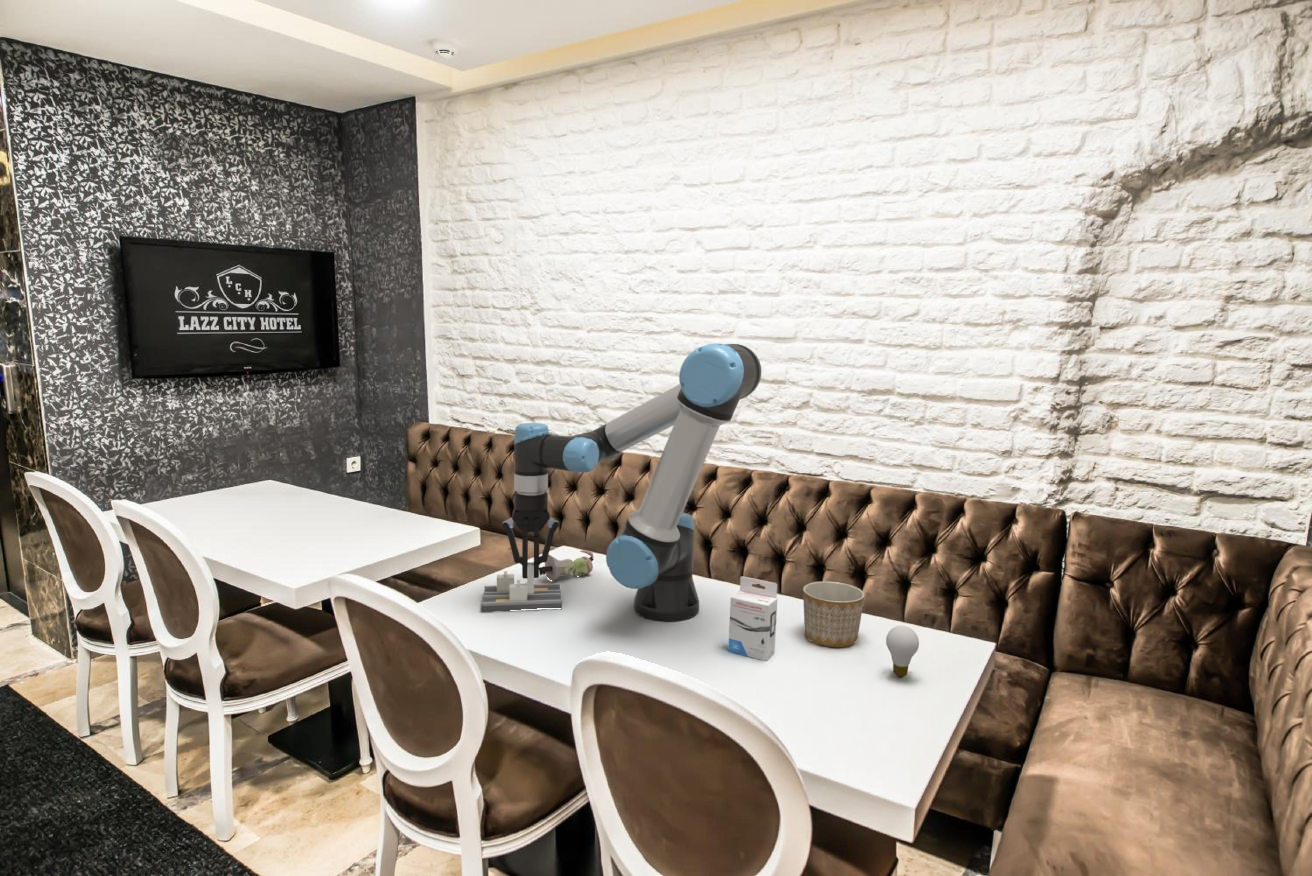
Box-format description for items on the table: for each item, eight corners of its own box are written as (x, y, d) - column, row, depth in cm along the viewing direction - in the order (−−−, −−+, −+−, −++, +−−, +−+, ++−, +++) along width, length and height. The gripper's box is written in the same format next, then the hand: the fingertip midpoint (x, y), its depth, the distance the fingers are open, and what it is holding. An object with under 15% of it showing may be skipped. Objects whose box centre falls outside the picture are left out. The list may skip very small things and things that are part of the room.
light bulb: (890, 667, 147) (894, 618, 145) (920, 676, 143) (924, 626, 142) (878, 677, 142) (882, 627, 141) (909, 687, 138) (913, 635, 137)
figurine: (549, 582, 186) (603, 576, 194) (546, 552, 188) (599, 547, 196) (536, 585, 193) (588, 578, 201) (533, 556, 195) (585, 551, 203)
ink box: (726, 652, 152) (729, 582, 150) (736, 643, 156) (739, 575, 154) (766, 661, 148) (769, 590, 146) (775, 652, 152) (779, 582, 150)
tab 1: (514, 588, 181) (514, 570, 181) (513, 591, 179) (513, 574, 178) (497, 588, 181) (497, 571, 180) (496, 592, 178) (496, 574, 178)
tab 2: (527, 597, 175) (527, 580, 174) (527, 601, 172) (527, 583, 172) (509, 598, 174) (509, 580, 174) (509, 602, 172) (509, 584, 171)
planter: (812, 622, 169) (814, 577, 167) (868, 635, 162) (871, 588, 161) (791, 641, 158) (794, 593, 156) (851, 656, 151) (854, 606, 150)
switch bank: (559, 591, 185) (559, 583, 184) (561, 609, 173) (561, 600, 173) (484, 594, 182) (484, 585, 181) (481, 612, 170) (481, 603, 170)
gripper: (559, 487, 175) (558, 585, 179) (502, 488, 173) (502, 586, 176) (560, 495, 168) (559, 596, 171) (501, 495, 166) (501, 597, 169)
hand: (530, 591), depth 174 cm, fingers closed
